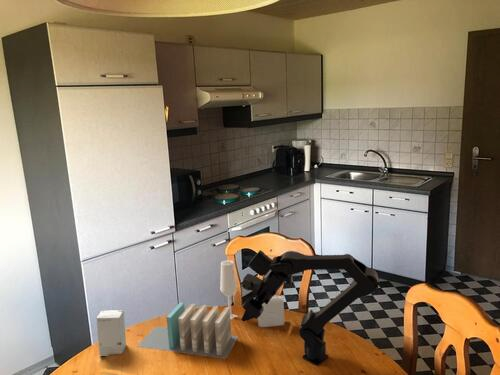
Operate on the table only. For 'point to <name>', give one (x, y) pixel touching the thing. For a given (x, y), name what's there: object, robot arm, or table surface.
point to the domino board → (161, 342)
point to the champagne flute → (228, 282)
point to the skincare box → (111, 332)
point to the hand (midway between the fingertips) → (247, 313)
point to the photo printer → (272, 313)
